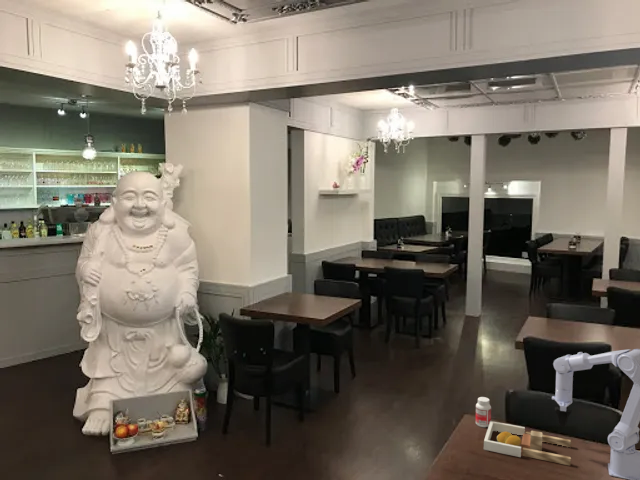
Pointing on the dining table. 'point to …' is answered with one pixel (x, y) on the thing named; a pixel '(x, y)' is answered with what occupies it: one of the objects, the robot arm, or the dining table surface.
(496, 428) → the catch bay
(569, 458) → the slot rails
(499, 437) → the bread roll
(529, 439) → the two-tone t block
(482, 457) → the dining table surface
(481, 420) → the pill bottle
